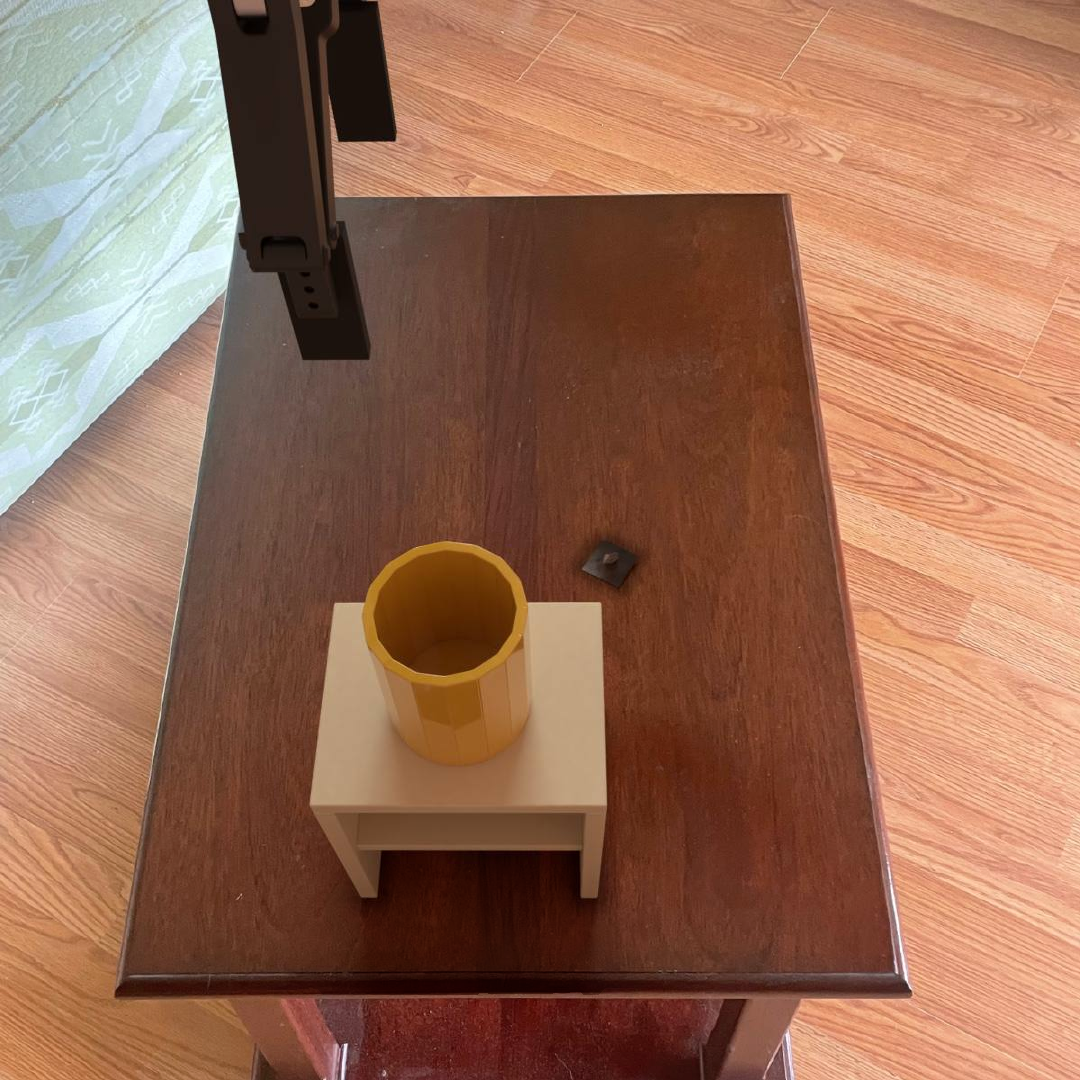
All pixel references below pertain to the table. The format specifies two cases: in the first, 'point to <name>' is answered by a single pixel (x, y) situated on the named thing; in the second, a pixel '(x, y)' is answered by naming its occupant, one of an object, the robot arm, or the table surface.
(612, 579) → the dark square tile
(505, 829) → the shelf
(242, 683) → the table surface
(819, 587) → the table surface
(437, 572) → the cup
